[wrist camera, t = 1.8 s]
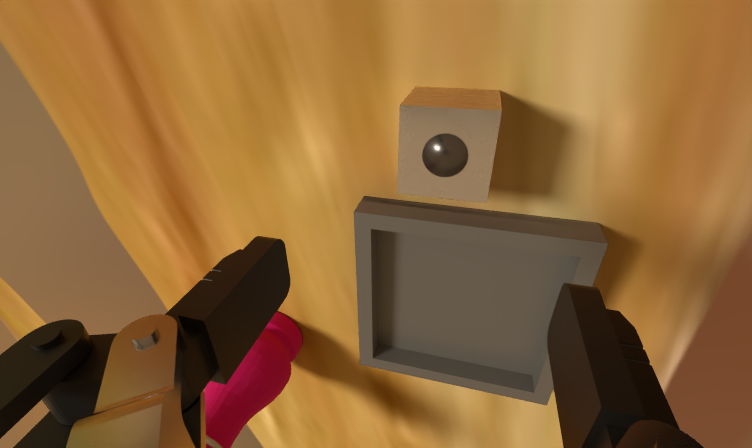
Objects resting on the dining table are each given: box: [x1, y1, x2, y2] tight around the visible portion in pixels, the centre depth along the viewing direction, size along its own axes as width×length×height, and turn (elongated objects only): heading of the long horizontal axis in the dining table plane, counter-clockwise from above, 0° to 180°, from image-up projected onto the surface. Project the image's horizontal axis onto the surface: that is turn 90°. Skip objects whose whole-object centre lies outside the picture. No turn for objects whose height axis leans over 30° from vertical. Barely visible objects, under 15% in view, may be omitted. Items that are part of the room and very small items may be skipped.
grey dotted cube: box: [397, 86, 502, 203], centre depth 22 cm, size 5×5×5 cm
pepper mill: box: [204, 312, 303, 448], centre depth 31 cm, size 7×7×20 cm
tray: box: [354, 196, 608, 405], centre depth 29 cm, size 16×16×2 cm
